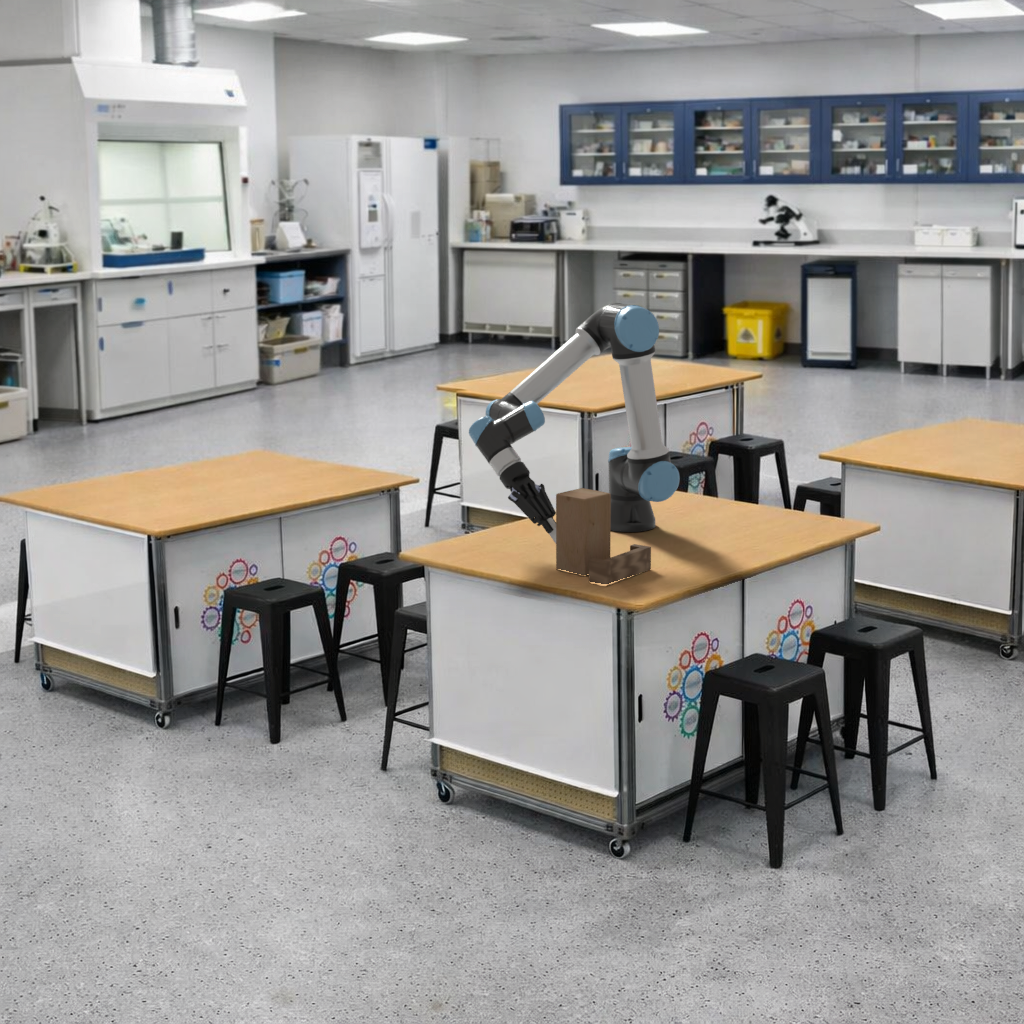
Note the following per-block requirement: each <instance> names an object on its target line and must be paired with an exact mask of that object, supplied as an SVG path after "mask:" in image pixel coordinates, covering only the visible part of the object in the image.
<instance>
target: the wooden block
mask: <svg viewBox="0 0 1024 1024" xmlns="http://www.w3.org/2000/svg"><path fill="white" fill-rule="evenodd" d="M555 496H556V497H555V500H556V501H555V512H556V514H555V522H556V543H555V550H556V551H555V554H556V555H555V562H556V564H555V567H556V568H557V569H561V570H566V571H569V572H573V573H577V574H581V575H587V574H589V560H590V559H593V558H595V559H601V560H605V559H608V558H611V531H612V530H611V494H610V493H609V492H605V491H602V490H601V491H599V490H596V489H595V490H594V489H590V488H584V487H579V488H576V489H572V490H568V491H562V492H558V493H556V494H555ZM556 568H555V569H556ZM557 569H556V570H557Z"/></svg>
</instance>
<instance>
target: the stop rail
mask: <svg viewBox="0 0 1024 1024" xmlns="http://www.w3.org/2000/svg"><path fill="white" fill-rule="evenodd" d="M650 569H651V570H652V547H651V546H648V545H643V544H636V543H633V544H630V545H629V550H628V551H626V552H623V553H620V554H617V555H615V556H612V557H611V556H610V558H608V559H605V560H601V559H595V558H593V559H590V560H589V576H588V582H589V581H590V582H595V583H601V584H609V583H611V582H614V581H618V580H620V579H623V578H627V577H630V576H632V575H636V574H638V575H640V574H639V573H641V572H644V573H646V572H648V570H649V571H651V570H650ZM645 571H646V572H645ZM641 574H642V573H641ZM636 576H637V575H636ZM630 578H631V577H630Z"/></svg>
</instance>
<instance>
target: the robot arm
mask: <svg viewBox="0 0 1024 1024" xmlns="http://www.w3.org/2000/svg"><path fill="white" fill-rule="evenodd" d="M659 335H660V327H659V322H658V320H657V318H656V316H655V315H654V314H653V312H652V311H650V310H649V309H648V308H645V307H643V306H640V305H637V304H625V303H620V302H613V303H610V304H606V305H604V306H602V307H600V308H599V309H598V310H596V311H595V312H594V313H592V314H591V315H590V316H588V317H587V318H586V319H585V320H584V321H583V322H582V323H580V325H578V326H577V327H576V328H575V333H574V335H572V336H571V337H570V338H569V339H568V340H567V341H565V342H564V343H563V344H562V345H561V346H560V347H559V348H558V349H557V350H555V352H553V353H552V354H551V355H550V356H549V357H547V359H546V360H544V361H543V362H542V363H541V364H540V365H538V367H536V368H535V369H534V370H533V371H532V372H531V373H530V374H528V375H527V376H526V377H525V378H524V379H523V380H521V382H519V383H518V384H517V385H516V386H514V387H513V389H512V390H510V391H509V392H508V393H507V394H505V395H504V396H503V397H502V398H501V399H500V398H498V399H494V400H492V401H491V402H489V403H488V404H487V406H486V409H485V416H482V417H480V418H478V419H476V420H475V421H474V422H473V423H472V424H471V425H470V426H469V429H468V435H469V437H470V438H471V440H472V442H473V443H474V446H475V447H476V448H477V449H478V450H479V452H480V453H481V455H482V456H483V457H484V459H485V460H486V461H487V463H488V464H489V466H490V467H491V468H492V470H493V471H494V473H495V474H496V476H497V477H499V480H500V482H501V483H502V485H503V486H504V487H505V488H506V489H507V490H510V494H509V495H508V497H507V498H508V500H509V501H511V503H514V504H515V505H516V507H517V508H519V509H520V511H521V512H522V513H523V514H524V515H525V516H526V517H527V518H528V519H529V520H530V521H531V522H532V523H533V524H535V525H536V526H538V527H540V526H542V528H543V529H544V531H545V532H546V533H547V534H548V535H549V537H550V538H551V539H552V541H553V542H554V543H555V544H556V519H554V517H555V516H556V509H555V508H554V505H553V504H552V502H551V500H550V497H549V496H548V494H547V492H546V488H545V484H544V483H540V484H539V485H538V484H536V481H534V480H533V479H532V478H531V477H530V474H531V472H530V470H529V468H528V467H527V466H526V464H525V463H524V462H523V461H522V458H521V456H520V455H519V454H518V453H517V452H516V450H515V448H514V447H512V445H513V444H514V443H516V442H518V441H519V440H521V439H523V438H525V437H526V436H529V435H530V434H532V433H533V432H536V431H537V430H538V429H540V428H541V427H543V426H544V425H545V423H546V418H545V415H544V412H543V410H542V409H541V406H539V405H538V404H539V403H540V402H541V401H543V400H544V399H545V398H546V397H547V396H549V394H551V393H552V392H553V391H554V390H555V389H556V388H557V387H558V386H559V385H561V384H562V383H563V382H564V381H566V379H568V378H569V377H570V376H571V375H572V374H573V373H574V372H576V371H577V370H578V369H579V368H580V367H582V365H584V364H585V363H586V362H587V361H588V360H589V359H590V358H591V357H593V356H600V355H601V353H603V352H604V351H606V350H607V349H611V350H610V351H611V357H612V359H613V361H615V362H616V363H617V364H618V366H619V373H620V374H619V375H620V380H621V385H622V393H623V394H622V395H623V400H624V405H625V406H624V407H625V413H626V420H627V425H628V433H629V440H630V446H626V447H625V446H623V447H622V446H621V447H616V448H612V449H611V450H610V451H609V454H608V460H607V462H608V493H610V494H611V531H613V532H622V533H623V532H625V533H640V532H647V531H650V530H653V529H655V528H656V516H655V514H654V511H653V508H652V507H653V506H652V504H651V502H654V503H660V502H664V501H667V500H668V499H669V498H671V497H672V496H673V495H674V494H675V492H676V491H677V490H678V487H679V485H680V478H681V477H680V472H679V469H678V468H677V467H676V465H675V464H673V463H672V462H671V455H670V454H671V453H670V449H669V447H667V446H665V445H664V444H663V438H662V431H661V423H660V416H659V410H658V403H657V395H656V389H655V381H654V374H653V368H652V366H653V365H652V358H653V356H654V355H655V353H656V348H655V345H656V342H657V341H658V340H659V339H658V338H659Z"/></svg>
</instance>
